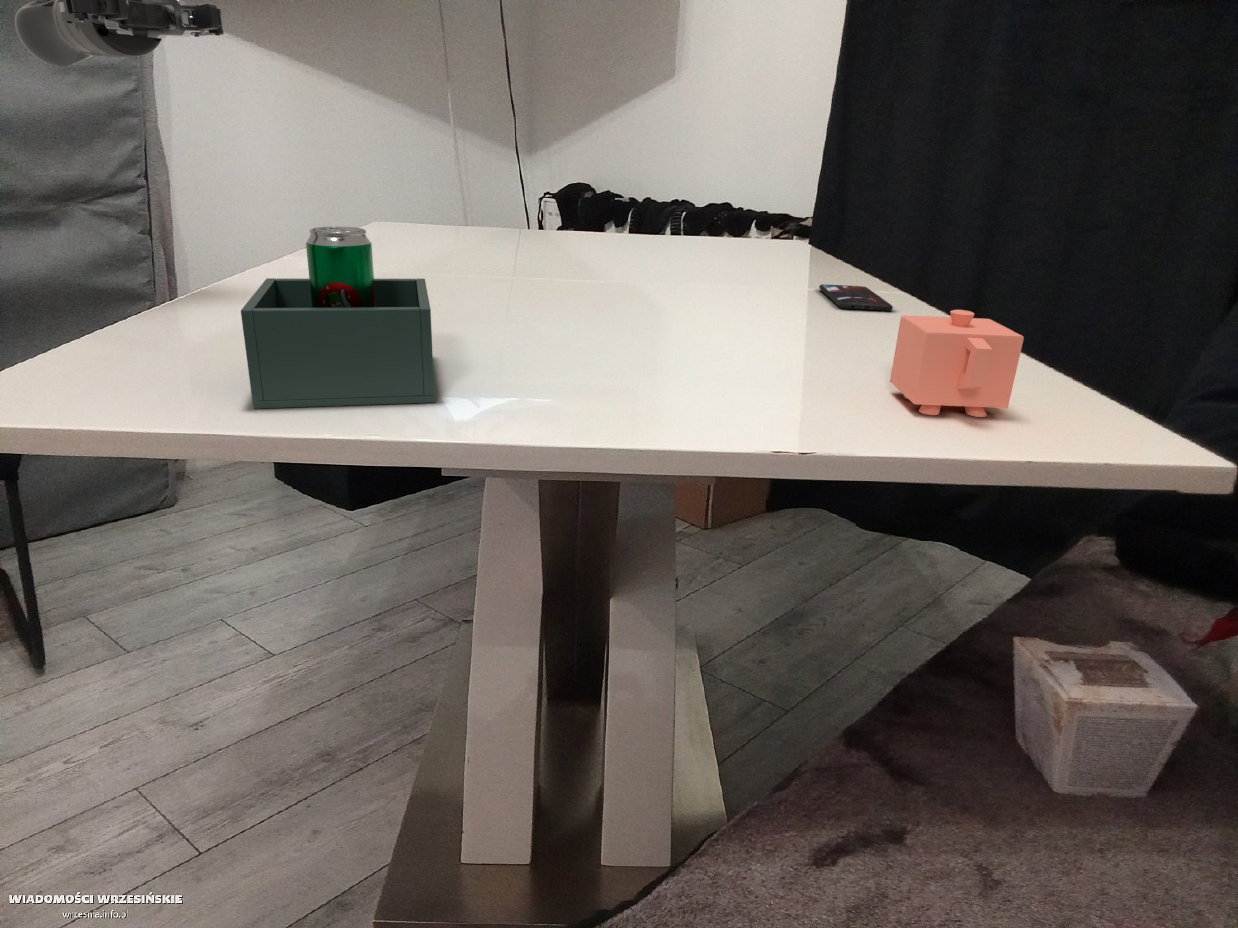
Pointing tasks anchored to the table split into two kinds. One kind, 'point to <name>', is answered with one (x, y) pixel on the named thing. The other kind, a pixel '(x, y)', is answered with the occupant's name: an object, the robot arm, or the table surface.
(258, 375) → the bin
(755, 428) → the table surface
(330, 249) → the soda can
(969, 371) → the pink cube teapot
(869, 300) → the smartphone
